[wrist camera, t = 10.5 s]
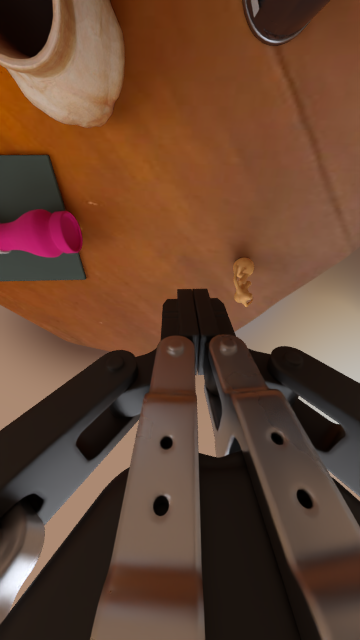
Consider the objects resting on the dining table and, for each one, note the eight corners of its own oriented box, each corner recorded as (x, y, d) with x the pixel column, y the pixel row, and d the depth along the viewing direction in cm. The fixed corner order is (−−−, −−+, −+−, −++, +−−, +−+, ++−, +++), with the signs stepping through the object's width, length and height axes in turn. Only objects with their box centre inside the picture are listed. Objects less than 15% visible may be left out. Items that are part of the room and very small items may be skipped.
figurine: (256, 275, 44) (279, 306, 34) (229, 288, 45) (245, 321, 36) (243, 240, 39) (266, 265, 30) (214, 256, 41) (227, 284, 31)
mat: (-90, 155, 30) (-94, 155, 30) (49, 155, 31) (47, 155, 30) (-12, 280, 42) (-14, 281, 42) (86, 278, 43) (85, 279, 42)
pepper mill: (76, 265, 34) (-38, 271, 35) (88, 239, 38) (-14, 246, 39) (52, 222, 28) (-85, 232, 29) (68, 198, 32) (-51, 207, 33)
